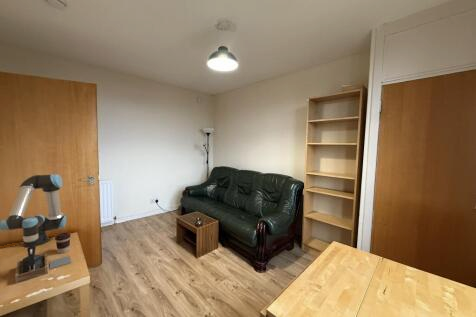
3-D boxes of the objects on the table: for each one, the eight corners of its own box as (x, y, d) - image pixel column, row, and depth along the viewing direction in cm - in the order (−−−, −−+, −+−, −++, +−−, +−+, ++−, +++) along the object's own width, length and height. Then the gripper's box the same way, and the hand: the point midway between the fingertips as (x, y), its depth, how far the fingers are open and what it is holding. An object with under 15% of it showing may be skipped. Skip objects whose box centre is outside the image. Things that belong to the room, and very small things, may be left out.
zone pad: (49, 262, 156) (49, 261, 156) (69, 256, 165) (69, 255, 165) (50, 269, 148) (50, 268, 148) (71, 263, 156) (71, 262, 156)
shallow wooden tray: (18, 267, 149) (17, 261, 148) (47, 259, 159) (46, 253, 159) (15, 283, 133) (15, 276, 132) (47, 273, 143) (47, 267, 143)
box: (42, 268, 149) (41, 254, 148) (35, 273, 144) (34, 258, 143) (30, 268, 148) (29, 254, 147) (22, 273, 143) (22, 259, 142)
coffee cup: (53, 252, 170) (52, 235, 169) (67, 247, 179) (67, 230, 177) (59, 255, 165) (58, 238, 164) (73, 250, 174) (72, 233, 173)
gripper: (24, 236, 149) (25, 265, 151) (22, 247, 134) (24, 280, 136) (38, 233, 154) (40, 261, 156) (38, 244, 139) (39, 275, 141)
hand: (32, 270), depth 146 cm, fingers closed on box, 9 cm apart
